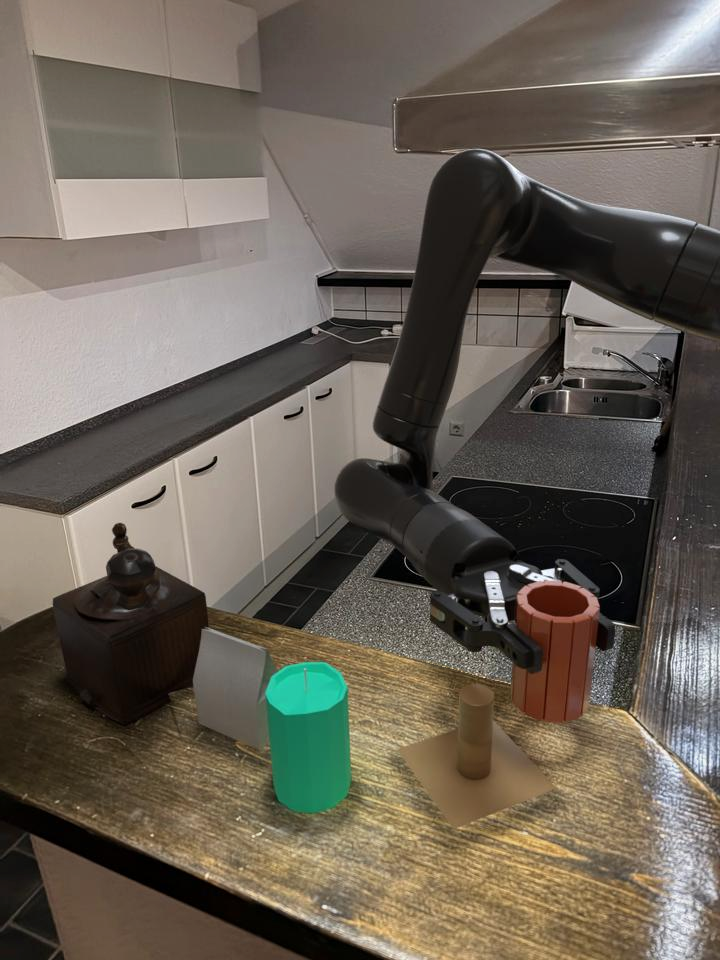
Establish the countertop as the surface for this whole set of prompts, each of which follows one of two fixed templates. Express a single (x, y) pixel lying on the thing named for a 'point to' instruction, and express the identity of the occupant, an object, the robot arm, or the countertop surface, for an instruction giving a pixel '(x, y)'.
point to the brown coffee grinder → (130, 634)
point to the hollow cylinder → (556, 650)
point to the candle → (309, 736)
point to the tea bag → (233, 687)
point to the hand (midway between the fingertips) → (575, 650)
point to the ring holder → (474, 764)
